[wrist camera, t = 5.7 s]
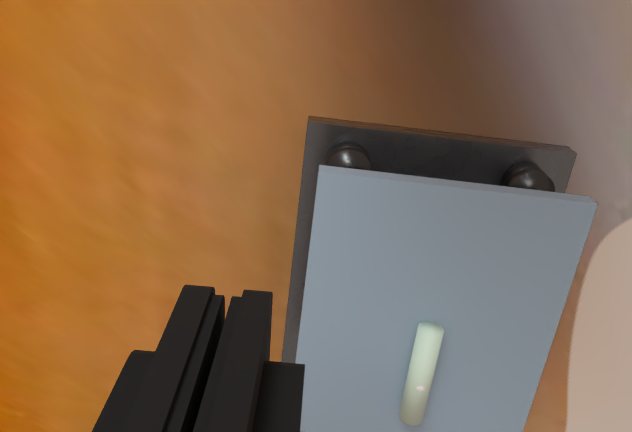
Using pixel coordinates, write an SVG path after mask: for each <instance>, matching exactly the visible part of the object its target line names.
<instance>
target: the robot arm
mask: <svg viewBox="0 0 632 432" xmlns="http://www.w3.org/2000/svg"><path fill="white" fill-rule="evenodd" d="M272 298H273V294H272V292H266V291H254V290H244V291H243V295H242V297H236V296H232V298H231V301H230V305H229V308H228V312H227V315H226V319H225V298H224V295H215V289H214V287H207V286H195V285H184V287H183V289H182V291H181V293H180V296H179V298H178V300H177V303H176V305H175V307H174V310H173V312H172V314H171V317H170V319H169V321H168V323H167V326H166V328H165V330H164V333H163V335H162V337H161V340H160V342H159V344H158V347H157V349H156V351H155V352H153V351H141V350H134V351H133V352H131V354H130V355H129V357H128V359H127V361H126V363H125V365H124V367H123V369H122V371H121V373H120V375H119V377H118V379H117V381H116V383H115V385H114V387H113V389H112V392H111V394H110V396H109V398H108V400H107V402H106V404H105V406H104V408H103V410H102V412H101V414H100V416H99V418H98V420H97V422H96V424H95V426H94V428H93V430H92V432H300V425H301V412H302V399H303V386H304V373H305V364H297V363H285V362H273V361H269V357H270V338H271V319H272Z"/></svg>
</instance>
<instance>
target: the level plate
mask: <svg viewBox="0 0 632 432" xmlns="http://www.w3.org/2000/svg"><path fill="white" fill-rule="evenodd" d="M597 206H598V203H597V202H596V201H594V200H593V199H592V198H591V197H590V196H584V195H575V194H566V193H558V192H549V191H541V190H532V189H523V188H515V187H506V186H498V185H489V184H480V183H472V182H463V181H454V180H446V179H437V178H429V177H420V176H411V175H403V174H394V173H386V172H377V171H368V170H360V169H351V168H343V167H334V166H325V165H319V171H318V179H317V187H316V195H315V204H314V212H313V220H312V229H311V237H310V245H309V253H308V262H307V270H306V278H305V286H304V295H303V303H302V311H301V319H300V328H299V336H298V344H297V352H296V361H295V363H297V364H305V373H304V386H303V399H302V412H301V425H300V431H304V432H523V429H524V426H525V423H526V420H527V417H528V414H529V411H530V408H531V405H532V402H533V399H534V396H535V393H536V390H537V387H538V384H539V381H540V378H541V375H542V372H543V369H544V366H545V363H546V360H547V357H548V354H549V351H550V348H551V345H552V342H553V339H554V336H555V333H556V330H557V327H558V324H559V321H560V318H561V315H562V312H563V309H564V306H565V303H566V300H567V296H568V293H569V290H570V287H571V284H572V281H573V278H574V275H575V272H576V269H577V266H578V263H579V260H580V257H581V254H582V251H583V248H584V245H585V242H586V239H587V236H588V233H589V230H590V227H591V224H592V221H593V218H594V215H595V212H596V209H597Z"/></svg>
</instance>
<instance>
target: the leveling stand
mask: <svg viewBox="0 0 632 432" xmlns="http://www.w3.org/2000/svg"><path fill="white" fill-rule="evenodd" d="M576 155H577V153H576V152H574V151H573V150H572V149H571V148H570V147H567V146H559V145H550V144H542V143H533V142H525V141H516V140H508V139H499V138H491V137H482V136H474V135H465V134H457V133H448V132H440V131H432V130H423V129H415V128H406V127H398V126H389V125H381V124H372V123H364V122H355V121H347V120H338V119H330V118H321V117H313V116H309V117H308V124H307V133H306V142H305V152H304V161H303V170H302V179H301V188H300V197H299V206H298V216H297V225H296V234H295V243H294V252H293V261H292V270H291V280H290V289H289V298H288V307H287V316H286V325H285V335H284V344H283V353H282V362H285V363H295V361H296V352H297V344H298V336H299V328H300V319H301V311H302V303H303V295H304V286H305V278H306V270H307V262H308V253H309V245H310V237H311V229H312V220H313V212H314V204H315V195H316V187H317V179H318V171H319V165H325V166H334V167H343V168H351V169H360V170H368V171H377V172H386V173H394V174H403V175H411V176H420V177H429V178H437V179H446V180H454V181H463V182H472V183H480V184H489V185H498V186H506V187H515V188H523V189H532V190H541V191H549V192H558V193H565V190H566V187H567V184H568V180H569V177H570V174H571V171H572V167H573V164H574V161H575V158H576Z"/></svg>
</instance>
